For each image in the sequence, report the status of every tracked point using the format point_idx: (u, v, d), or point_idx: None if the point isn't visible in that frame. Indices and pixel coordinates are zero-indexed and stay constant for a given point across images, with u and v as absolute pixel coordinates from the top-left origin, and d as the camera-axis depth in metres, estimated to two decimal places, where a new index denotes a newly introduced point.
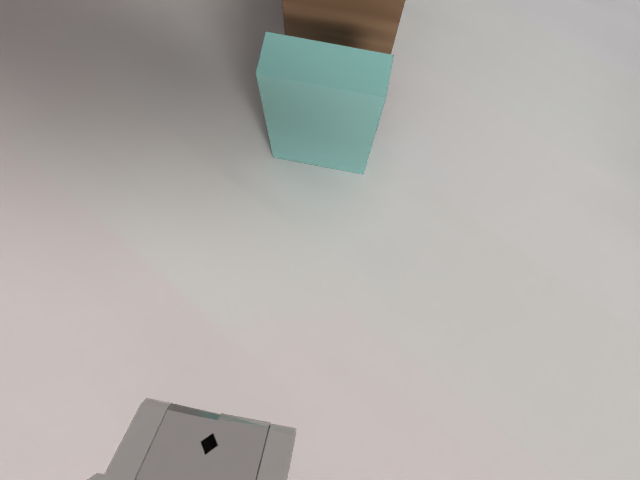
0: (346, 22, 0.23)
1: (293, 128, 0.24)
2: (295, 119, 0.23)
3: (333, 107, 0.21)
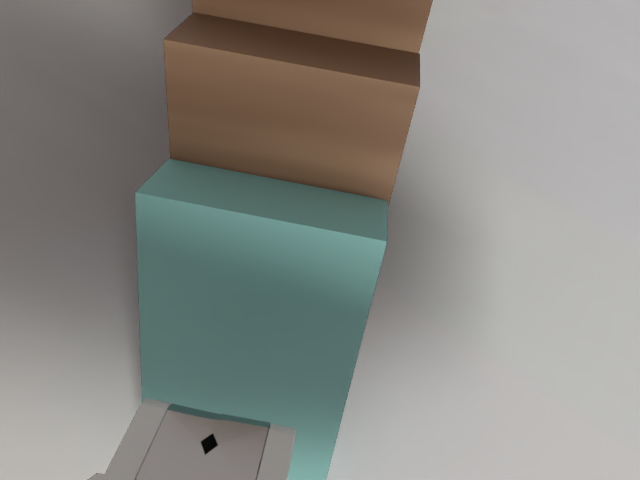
0: (295, 160, 0.11)
1: (192, 372, 0.13)
2: (199, 339, 0.12)
3: (278, 287, 0.11)
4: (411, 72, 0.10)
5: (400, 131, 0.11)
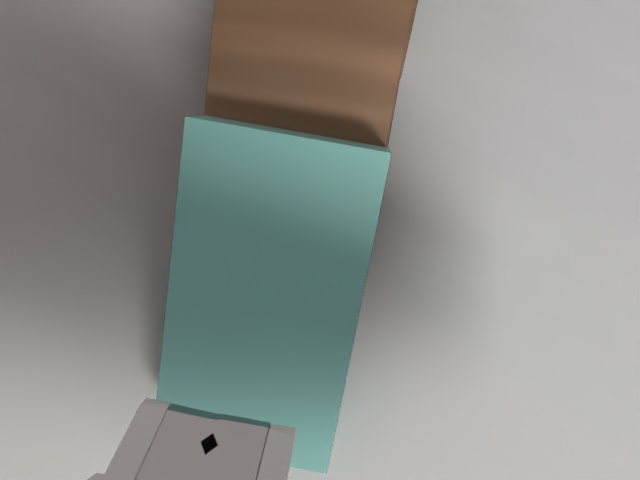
0: (315, 60, 0.14)
1: (215, 303, 0.14)
2: (225, 263, 0.13)
3: (299, 203, 0.13)
4: None
5: (402, 26, 0.13)
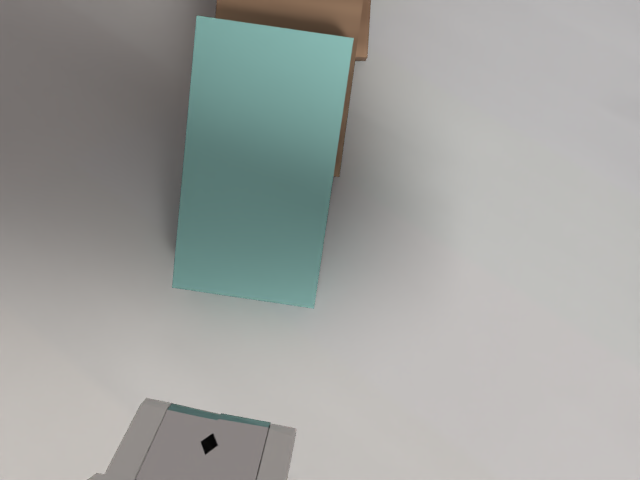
0: None
1: (221, 166, 0.18)
2: (229, 132, 0.17)
3: (285, 81, 0.17)
4: None
5: None
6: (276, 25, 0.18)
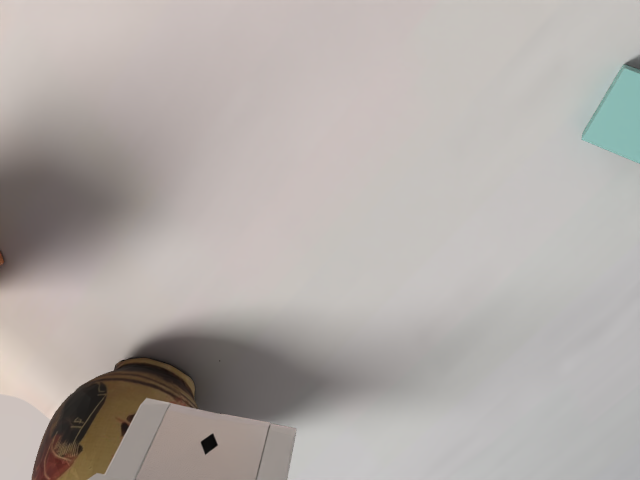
0: None
1: None
2: None
3: None
4: None
5: None
6: None
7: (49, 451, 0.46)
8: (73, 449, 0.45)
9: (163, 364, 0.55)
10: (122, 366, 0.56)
